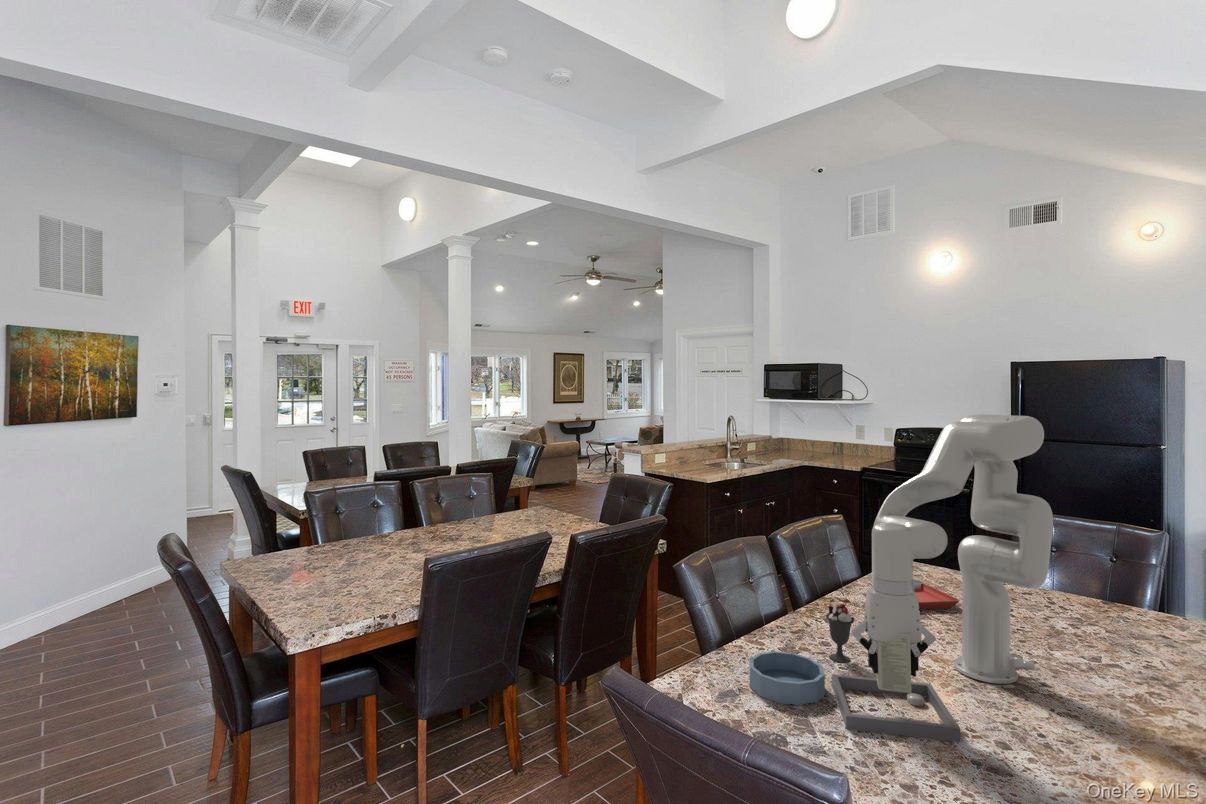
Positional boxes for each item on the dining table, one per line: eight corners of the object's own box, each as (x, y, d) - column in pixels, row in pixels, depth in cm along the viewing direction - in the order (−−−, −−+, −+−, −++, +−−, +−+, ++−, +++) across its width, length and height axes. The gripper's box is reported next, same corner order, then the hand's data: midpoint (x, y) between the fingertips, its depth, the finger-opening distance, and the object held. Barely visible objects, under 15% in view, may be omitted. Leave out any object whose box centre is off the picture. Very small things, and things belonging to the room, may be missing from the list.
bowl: (818, 674, 140) (818, 655, 140) (828, 708, 124) (828, 686, 124) (749, 667, 143) (749, 648, 143) (750, 700, 128) (750, 678, 128)
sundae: (857, 665, 144) (857, 603, 144) (827, 663, 146) (828, 601, 146) (851, 654, 151) (852, 594, 151) (823, 651, 152) (823, 592, 152)
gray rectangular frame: (930, 695, 130) (930, 683, 130) (960, 742, 113) (960, 728, 113) (831, 685, 134) (831, 674, 134) (846, 728, 117) (846, 715, 117)
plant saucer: (871, 593, 199) (871, 583, 199) (923, 592, 201) (923, 582, 201) (905, 613, 181) (905, 602, 181) (961, 611, 183) (961, 600, 183)
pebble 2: (921, 700, 128) (921, 694, 128) (925, 708, 125) (925, 701, 125) (905, 698, 129) (905, 692, 129) (909, 706, 126) (909, 699, 126)
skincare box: (908, 684, 125) (908, 625, 125) (912, 694, 121) (911, 634, 121) (875, 679, 127) (874, 622, 127) (877, 689, 123) (876, 630, 123)
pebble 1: (871, 719, 121) (871, 712, 121) (875, 728, 118) (875, 721, 118) (854, 717, 121) (854, 710, 121) (857, 726, 118) (857, 719, 118)
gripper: (933, 581, 125) (933, 667, 126) (844, 577, 129) (844, 660, 129) (945, 593, 118) (945, 684, 118) (850, 589, 122) (851, 677, 122)
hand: (893, 671), depth 124 cm, fingers closed on skincare box, 6 cm apart
